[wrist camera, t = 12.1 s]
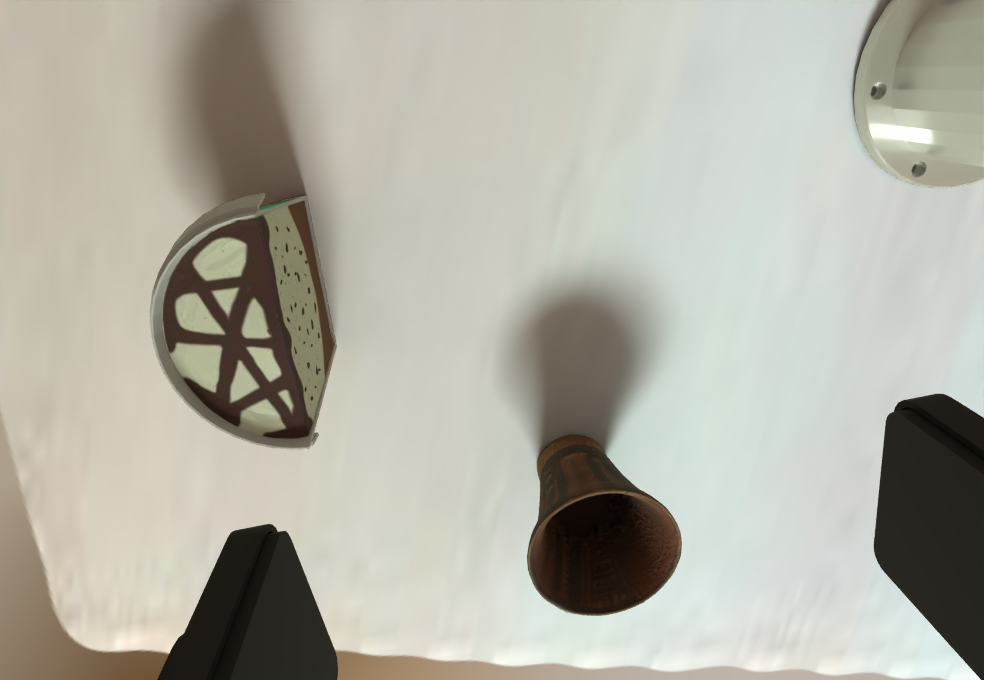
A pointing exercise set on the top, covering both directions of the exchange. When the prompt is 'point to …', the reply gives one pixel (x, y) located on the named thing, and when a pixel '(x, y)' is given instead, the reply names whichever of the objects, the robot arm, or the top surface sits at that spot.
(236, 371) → the food container
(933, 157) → the robot arm
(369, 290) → the top surface
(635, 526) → the cup
